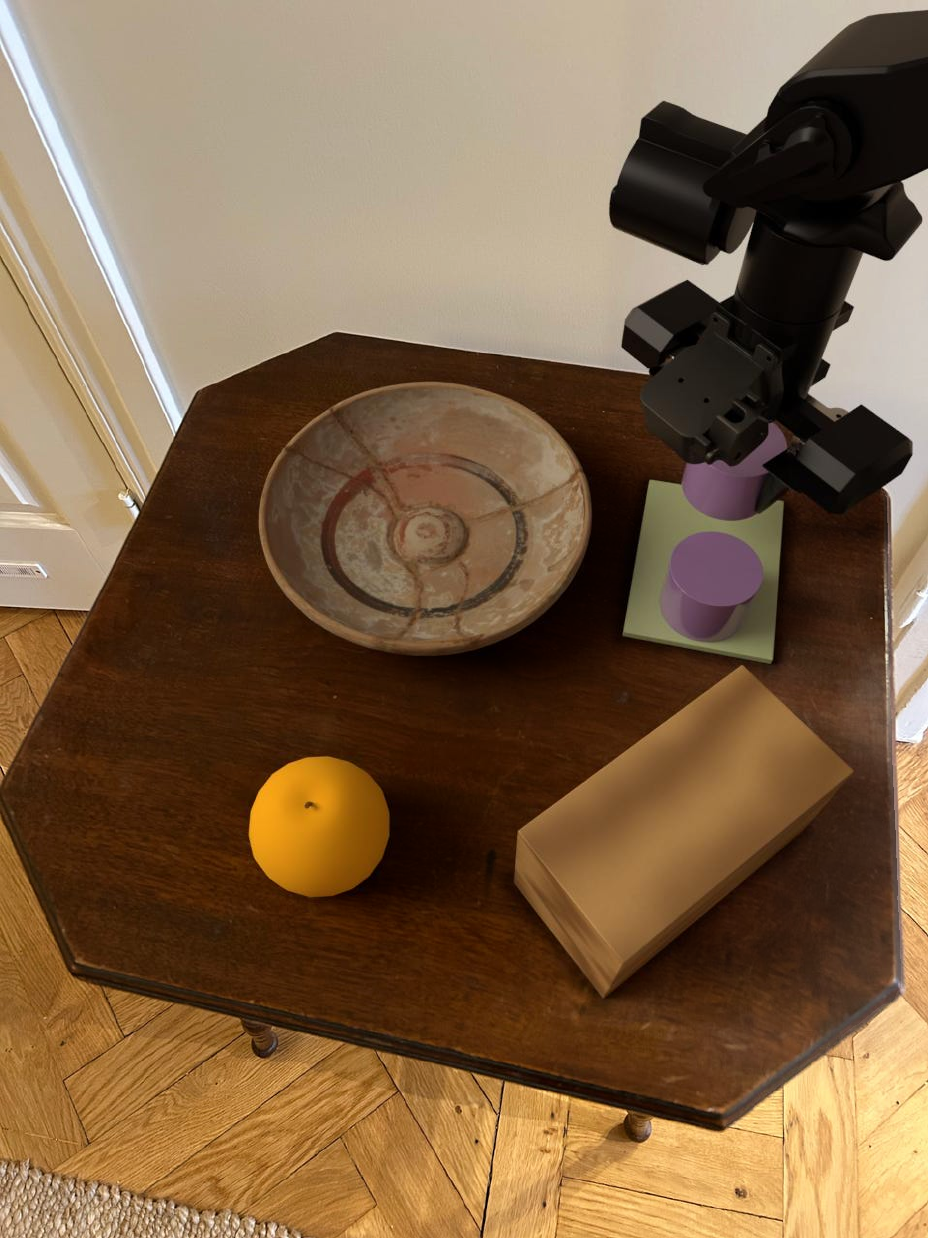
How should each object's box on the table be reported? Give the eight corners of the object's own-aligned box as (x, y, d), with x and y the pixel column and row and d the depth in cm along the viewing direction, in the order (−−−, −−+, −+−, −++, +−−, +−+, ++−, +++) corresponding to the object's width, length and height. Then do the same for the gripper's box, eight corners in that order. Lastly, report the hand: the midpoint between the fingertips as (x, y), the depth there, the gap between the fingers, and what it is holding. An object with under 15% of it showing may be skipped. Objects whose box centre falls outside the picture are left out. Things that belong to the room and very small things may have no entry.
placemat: (770, 664, 61) (773, 660, 60) (622, 636, 62) (623, 631, 62) (782, 506, 68) (784, 500, 68) (648, 484, 69) (649, 479, 69)
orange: (404, 789, 57) (393, 739, 50) (383, 918, 52) (369, 880, 46) (278, 777, 57) (252, 725, 51) (249, 902, 53) (216, 863, 47)
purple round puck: (765, 612, 62) (783, 574, 59) (701, 658, 60) (716, 622, 57) (703, 556, 65) (716, 516, 61) (640, 598, 63) (650, 560, 59)
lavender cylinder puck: (787, 493, 62) (807, 447, 59) (725, 535, 61) (740, 491, 57) (725, 442, 65) (739, 395, 61) (663, 481, 63) (674, 435, 59)
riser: (804, 829, 55) (854, 770, 47) (603, 999, 50) (623, 964, 42) (709, 733, 58) (742, 664, 51) (513, 882, 53) (517, 831, 46)
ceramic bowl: (236, 667, 62) (218, 628, 57) (308, 417, 74) (297, 370, 70) (578, 698, 60) (585, 660, 56) (592, 436, 72) (599, 389, 68)
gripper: (565, 263, 51) (550, 454, 64) (820, 459, 43) (743, 633, 56) (708, 190, 54) (666, 386, 67) (971, 359, 46) (864, 545, 59)
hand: (727, 481), depth 62 cm, fingers closed on lavender cylinder puck, 6 cm apart
